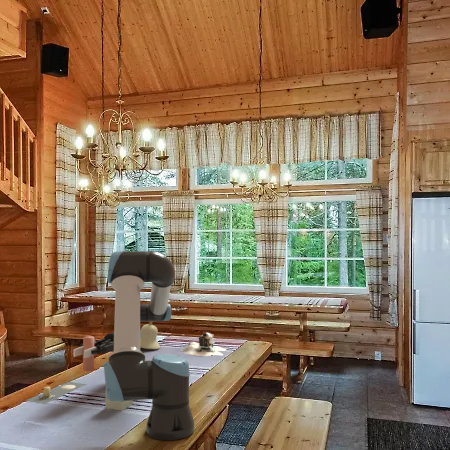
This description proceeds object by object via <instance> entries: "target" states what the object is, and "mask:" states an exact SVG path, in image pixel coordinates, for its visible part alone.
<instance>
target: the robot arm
mask: <svg viewBox="0 0 450 450" xmlns="http://www.w3.org/2000/svg"><path fill="white" fill-rule="evenodd" d="M107 269H108V270H107V277H106V278H107V282H108V283H109V284H110V285H111V288H112V289H113V290H114V291H115V296H114V305H115V306H114V328H113V329H114V330H113V331H112V332H109V333H107V334H105V335H104V337H103V338H101V339H100V340H99V339H98V340H95V339H94V347H93V348H90V349H87V350H84V358H87V357H90V356H92V355H94V356H96V355H97V354H98V355H101V354H102V355H105V354H107V353H111V354H109V356H108V361H106V362H104V363H103V373H104V383H105V384H104V385H105V396H106V395H107V399H108V400H109V401H121V402H123V401H132V400H133V401H146V400H152V404H151V405H152V406H151V409H150V412H149V416H148V419H147V421H146V435H147V436H149V437H150V438H152V439H155V440H160V441H178V440H182V439H185V438H188V437H189V436H191V435H192V434H193V433H194V432H195V420H194V417H193V414H192V410H191V408H190V376H191V373H190V364H189V363H190V362H189V361H188V360H187V359H186V358H185V357H183V356H179V355H177V354H172V353H171V354H170V353H159V354H154V355H153V356H152V358H151V359H152V360H146V354H145V353H143V351H141V347H140V338H141V335H142V333H141V323H142V322H143V323H145V322H146V323H147V322H150V321H153V322H166V321H167V322H168V321H170V320H171V318H172V305H171V304H170V303H169V299H170V294H171V288H172V285H173V283H174V282H175V279H176V270H175V266H174V265H173V263H172V261H171V260H170V259H169V258H168V257H167V256H166V255H164V254H162V253H161V252H158V251H155V250H145V251H144V250H143V251H142V250H140V251H139V250H138V251H137V250H136V251H133V250H132V251H131V250H129V251H126V250H121V251H114V252H112V253H111V255H110V257H109V262H108V267H107ZM145 283H151V290H150V291H151V292H150V302H149V303H141V290H142V289H143V288H144V286H145ZM72 354H73V358H76V357H79V356H81V355H82V356H83V343H80V345H79V347H76V348H74V349H73V353H72Z"/></svg>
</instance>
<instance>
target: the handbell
mask: <svg viewBox="0 0 450 450" xmlns="http://www.w3.org/2000/svg"><path fill="white" fill-rule="evenodd" d="M153 322H154V321H149V322H148V323H147V324H143V326H142V327H140V330H141V333H142V335H141V338H140V349H141V348H142V349H147V350H159V349H160V348H161V346H160V344H159V343H158V341H157V337H158V327H156V325H153Z"/></svg>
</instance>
